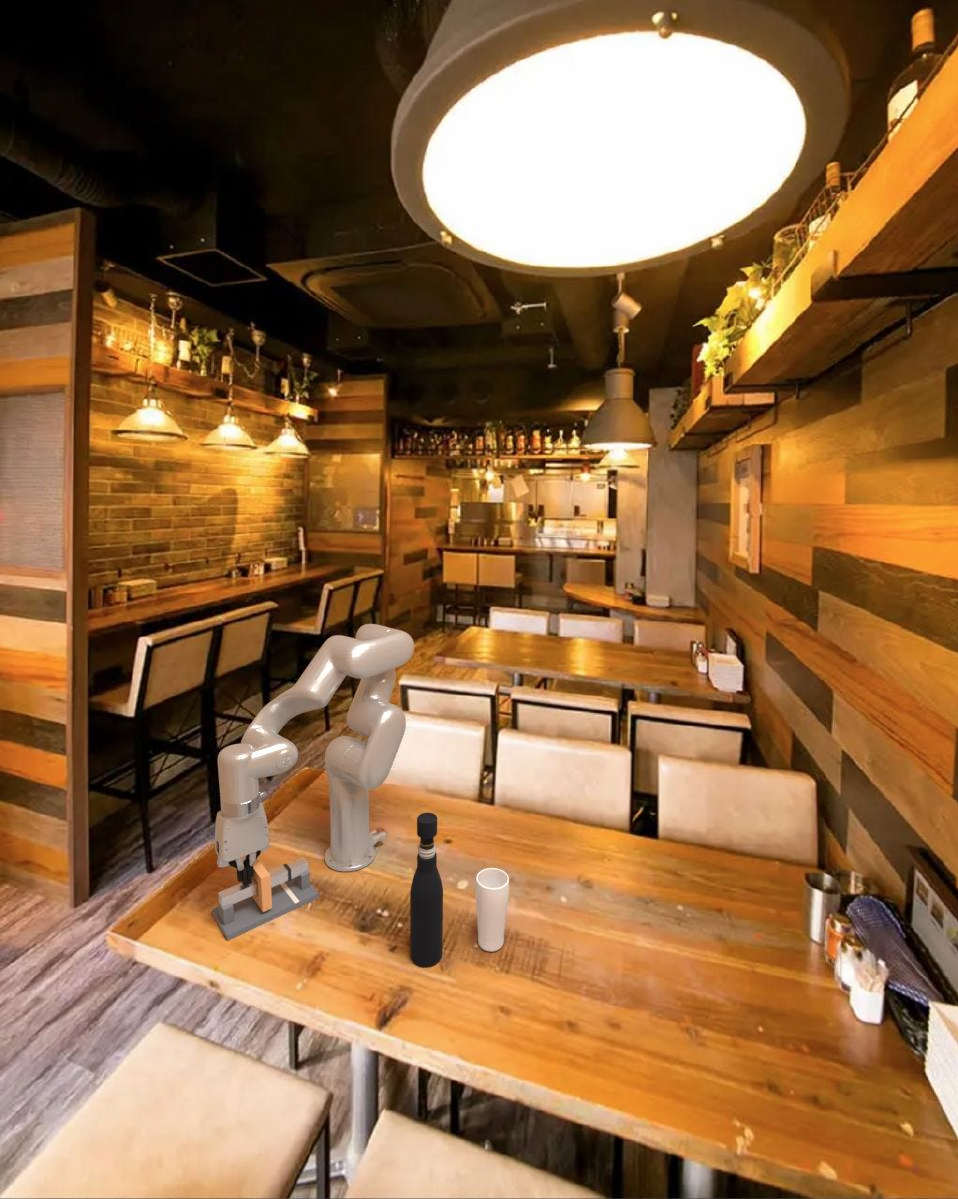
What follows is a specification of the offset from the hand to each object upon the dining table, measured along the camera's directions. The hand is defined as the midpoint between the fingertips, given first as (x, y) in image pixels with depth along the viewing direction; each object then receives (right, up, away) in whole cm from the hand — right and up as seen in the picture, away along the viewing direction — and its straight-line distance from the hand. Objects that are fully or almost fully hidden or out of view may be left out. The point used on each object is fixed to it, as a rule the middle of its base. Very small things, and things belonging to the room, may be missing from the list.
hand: (245, 881), depth 124 cm
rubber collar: (+2, -6, +3) cm, 7 cm away
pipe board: (+3, -7, +4) cm, 9 cm away
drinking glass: (+53, -10, -5) cm, 54 cm away
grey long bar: (+3, -3, +3) cm, 5 cm away
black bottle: (+40, -11, -9) cm, 42 cm away
